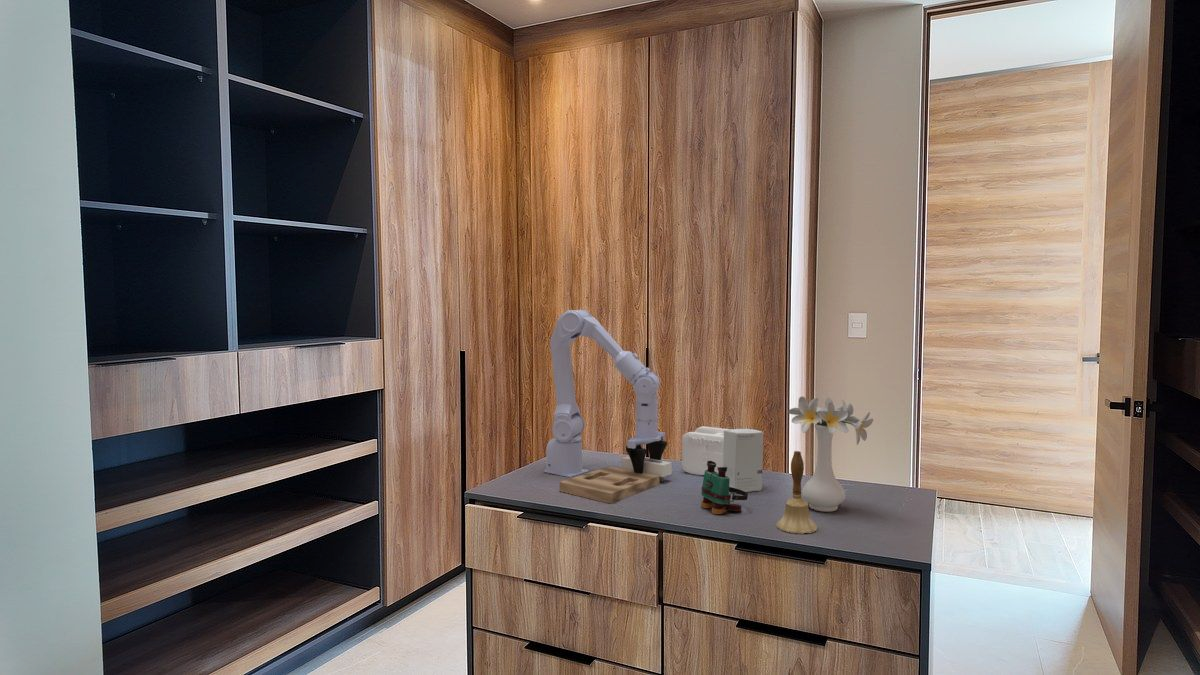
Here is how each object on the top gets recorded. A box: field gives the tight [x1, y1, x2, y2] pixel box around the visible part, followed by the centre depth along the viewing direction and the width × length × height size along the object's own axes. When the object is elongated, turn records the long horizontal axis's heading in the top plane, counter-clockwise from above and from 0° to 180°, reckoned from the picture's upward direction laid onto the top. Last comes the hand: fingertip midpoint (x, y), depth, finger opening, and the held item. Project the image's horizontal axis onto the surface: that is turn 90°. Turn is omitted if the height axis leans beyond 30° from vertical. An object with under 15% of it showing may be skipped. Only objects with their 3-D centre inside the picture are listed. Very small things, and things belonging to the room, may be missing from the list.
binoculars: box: [700, 461, 749, 515], centre depth 159 cm, size 9×11×10 cm
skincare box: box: [723, 428, 764, 494], centre depth 175 cm, size 8×6×15 cm
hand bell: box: [775, 450, 818, 535], centre depth 146 cm, size 8×8×16 cm
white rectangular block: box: [621, 455, 673, 483], centre depth 184 cm, size 13×4×5 cm, turn 52°
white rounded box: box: [681, 425, 730, 476], centre depth 190 cm, size 15×11×12 cm
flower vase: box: [787, 396, 874, 513], centre depth 159 cm, size 13×18×25 cm
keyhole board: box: [559, 466, 660, 504], centre depth 175 cm, size 20×16×2 cm
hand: (646, 471), depth 184 cm, fingers open, 7 cm apart
